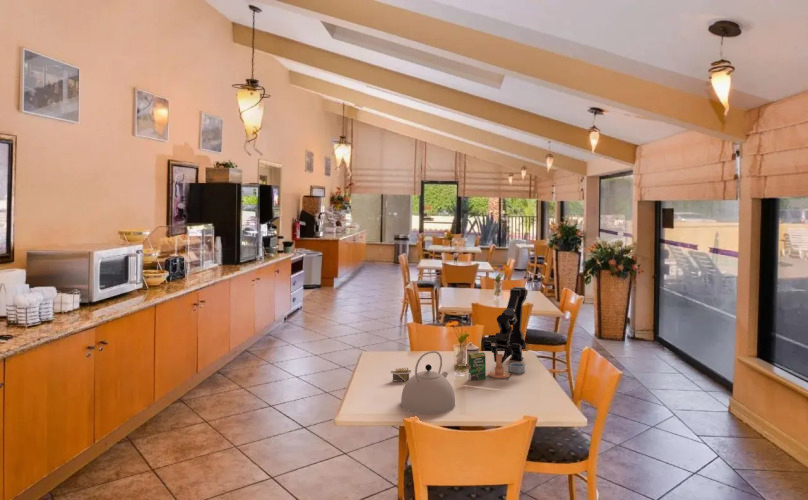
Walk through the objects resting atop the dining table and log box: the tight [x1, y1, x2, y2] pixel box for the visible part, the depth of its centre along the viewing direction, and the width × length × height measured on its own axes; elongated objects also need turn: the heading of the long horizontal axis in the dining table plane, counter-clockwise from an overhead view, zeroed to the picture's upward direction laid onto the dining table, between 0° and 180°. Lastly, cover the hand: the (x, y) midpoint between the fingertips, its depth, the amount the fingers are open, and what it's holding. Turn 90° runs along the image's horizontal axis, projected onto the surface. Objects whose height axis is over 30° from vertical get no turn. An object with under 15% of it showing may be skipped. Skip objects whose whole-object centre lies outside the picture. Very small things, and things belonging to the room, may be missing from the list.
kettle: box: [400, 350, 456, 415], centre depth 241 cm, size 25×23×22 cm
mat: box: [486, 371, 513, 381], centre depth 281 cm, size 11×11×1 cm
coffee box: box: [468, 352, 487, 381], centre depth 274 cm, size 8×3×13 cm, turn 107°
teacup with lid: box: [466, 341, 480, 366], centre depth 303 cm, size 12×9×12 cm
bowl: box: [508, 362, 526, 374], centre depth 288 cm, size 8×8×4 cm
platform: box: [390, 367, 412, 382], centre depth 272 cm, size 12×18×7 cm, turn 103°
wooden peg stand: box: [488, 353, 511, 380], centre depth 280 cm, size 10×10×10 cm
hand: (498, 362), depth 279 cm, fingers closed on wooden peg stand, 3 cm apart
